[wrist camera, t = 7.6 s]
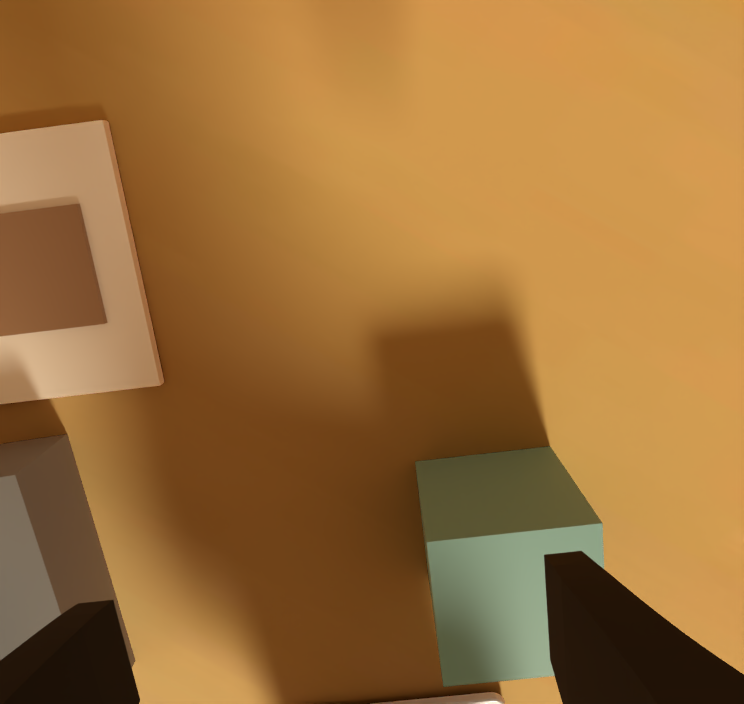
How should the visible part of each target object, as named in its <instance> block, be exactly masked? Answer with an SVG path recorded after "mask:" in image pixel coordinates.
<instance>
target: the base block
mask: <svg viewBox="0 0 744 704" xmlns="http://www.w3.org/2000/svg"><path fill="white" fill-rule="evenodd" d="M105 600H113V601H114V604H115V608H116V612H117V616H118V619H119V623H120V627H121V631H122V634H123V638H124V642H125V645H126V649H127V653H128V657H129V660H130V664H131V668H132V666H133V664H134V662H135V658H134V654H133V651H132V648H131V644H130V641H129V638H128V634H127V631H126V628H125V624H124V621H123V618H122V614H121V611H120V608H119V604H118V601H117V598H116V595H115V591H114V588H113V585H112V581H111V578H110V575H109V571H108V568H107V565H106V561H105V558H104V555H103V551H102V548H101V545H100V541H99V538H98V535H97V531H96V528H95V525H94V521H93V518H92V515H91V511H90V508H89V505H88V501H87V498H86V495H85V491H84V488H83V485H82V481H81V478H80V475H79V471H78V468H77V465H76V461H75V458H74V455H73V451H72V448H71V445H70V441H69V438H68V435H67V434H64V435H57V436H50V437H44V438H37V439H30V440H24V441H17V442H10V443H4V444H0V660H2V659H3V658H4V657H5V656H7V655H8V654H9V653H11V652H12V651H13V650H15V649H16V648H17V647H18V646H20V645H21V644H22V643H24V642H25V641H26V640H28V639H29V638H30V637H32V636H33V635H34V634H35V633H37V632H38V631H39V630H41V629H42V628H43V627H45V626H46V625H47V624H49V623H50V622H52V621H53V620H54V619H56V618H57V617H58V616H60V615H61V614H63V613H64V612H66V611H67V610H69V609H70V608H72V607H73V606H75V605H76V604H78V603H86V602H96V601H105Z"/></svg>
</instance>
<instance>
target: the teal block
mask: <svg viewBox="0 0 744 704" xmlns="http://www.w3.org/2000/svg"><path fill="white" fill-rule="evenodd" d="M415 466H416V474H417V483H418V491H419V500H420V508H421V517H422V526H423V534H424V543H425V551H426V560H427V568H428V577H429V585H430V592H431V599H432V607H433V614H434V621H435V629H436V636H437V644H438V651H439V658H440V666H441V673H442V681H443V687H447V686H457V685H467V684H477V683H487V682H498V681H508V680H518V679H528V678H538V677H548V676H555V675H554V671H553V668H552V664H551V661H550V650H549V633H548V616H547V599H546V582H545V566H544V555H545V554H555V553H565V552H574V551H582V552H584V553H585V554H586V555H587V556H588V557H590V558H591V559H592V560H593V561H595V562H596V563H597V564H598V565H599V566H601V567H602V568H603V569H604V554H603V526H602V522H601V520H600V519H599V518H598V516H597V515H596V513H595V512H594V510H593V509H592V507H591V506H590V504H589V503H588V501H587V500H586V498H585V497H584V495H583V494H582V493H581V491H580V490H579V488H578V487H577V485H576V484H575V482H574V481H573V479H572V478H571V476H570V475H569V473H568V472H567V470H566V469H565V468H564V466H563V465H562V463H561V462H560V460H559V459H558V457H557V456H556V454H555V453H554V451H553V450H552V448H551V447H550V446H548V447H539V448H530V449H521V450H513V451H504V452H495V453H486V454H477V455H468V456H459V457H450V458H441V459H433V460H424V461H415Z"/></svg>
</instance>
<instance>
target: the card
mask: <svg viewBox="0 0 744 704" xmlns="http://www.w3.org/2000/svg"><path fill="white" fill-rule="evenodd" d="M163 383H164V378H163V373H162V368H161V364H160V359H159V354H158V350H157V345H156V340H155V336H154V331H153V327H152V322H151V317H150V313H149V308H148V303H147V299H146V294H145V289H144V285H143V280H142V275H141V271H140V266H139V261H138V257H137V252H136V248H135V243H134V238H133V234H132V229H131V224H130V220H129V215H128V210H127V206H126V201H125V196H124V192H123V187H122V182H121V178H120V173H119V169H118V164H117V159H116V155H115V150H114V145H113V141H112V136H111V131H110V127H109V122H108V121H105V120H97V121H90V122H82V123H75V124H67V125H60V126H52V127H45V128H37V129H30V130H22V131H15V132H7V133H0V404H7V403H15V402H24V401H33V400H41V399H50V398H58V397H67V396H75V395H84V394H92V393H101V392H110V391H118V390H127V389H135V388H144V387H152V386H160V385H161V384H163Z"/></svg>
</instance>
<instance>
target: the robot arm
mask: <svg viewBox="0 0 744 704" xmlns="http://www.w3.org/2000/svg"><path fill="white" fill-rule="evenodd" d="M544 566H545V582H546V599H547V616H548V633H549V650H550V661H551V664H552V668H553V671H554V675H555V678H556V682H557V685H558V689H559V692H560V696H561V699H562V702H563V704H744V675H743V674H742V673H740V672H739V671H737V670H736V669H734V668H733V667H732V666H730V665H729V664H727V663H726V662H724V661H723V660H721V659H720V658H718V657H717V656H716V655H714V654H713V653H711V652H710V651H708V650H707V649H705V648H704V647H702V646H701V645H700V644H698V643H697V642H695V641H694V640H693V639H691V638H690V637H689V636H687V635H686V634H685V633H683V632H682V631H680V630H679V629H678V628H676V627H675V626H674V625H673V624H671V623H670V622H669V621H667V620H666V619H665V618H663V617H662V616H661V615H660V614H658V613H657V612H656V611H654V610H653V609H652V608H651V607H649V606H648V605H647V604H646V603H644V602H643V601H642V600H641V599H639V598H638V597H637V596H636V595H634V594H633V593H632V592H631V591H630V590H628V589H627V588H626V587H625V586H623V585H622V584H621V583H620V582H619V581H617V580H616V579H615V578H614V577H613V576H611V575H610V574H609V573H608V572H607V571H605V570H604V569H603V568H602V567H601V566H599V565H598V564H597V563H596V562H595V561H593V560H592V559H591V558H590V557H588V556H587V555H586V554H585V553H584V552H582V551H574V552H565V553H555V554H545V555H544ZM139 702H140V698H139V694H138V690H137V687H136V683H135V679H134V675H133V672H132V668H131V664H130V660H129V657H128V653H127V649H126V645H125V642H124V638H123V634H122V631H121V627H120V623H119V619H118V616H117V612H116V608H115V604H114V601H113V600H105V601H96V602H86V603H78V604H76V605H75V606H73V607H72V608H70V609H69V610H67V611H66V612H64V613H63V614H61V615H60V616H58V617H57V618H56V619H54V620H53V621H52V622H50V623H49V624H47V625H46V626H45V627H43V628H42V629H41V630H39V631H38V632H37V633H35V634H34V635H33V636H32V637H30V638H29V639H28V640H26V641H25V642H24V643H22V644H21V645H20V646H18V647H17V648H16V649H15V650H13V651H12V652H11V653H9V654H8V655H7V656H5V657H4V658H3V659H2V660H0V704H139ZM372 704H505V702H504V699H503V697H502V696H501V695H500V694H498V693H495V692H486V693H476V694H465V695H455V696H445V697H434V698H424V699H413V700H403V701H393V702H382V703H372Z"/></svg>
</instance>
